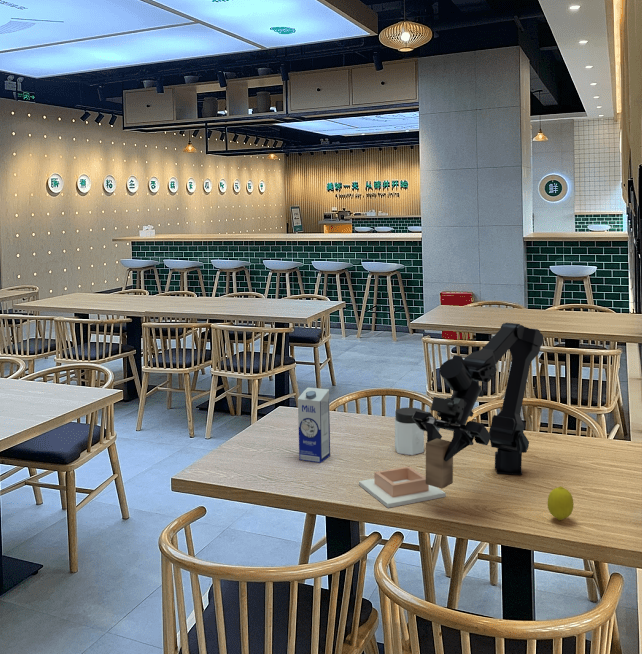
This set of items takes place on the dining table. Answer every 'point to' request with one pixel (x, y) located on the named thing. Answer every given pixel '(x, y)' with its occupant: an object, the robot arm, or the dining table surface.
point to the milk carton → (314, 425)
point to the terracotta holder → (400, 487)
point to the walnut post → (438, 464)
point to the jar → (408, 433)
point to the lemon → (560, 503)
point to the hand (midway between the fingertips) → (436, 458)
